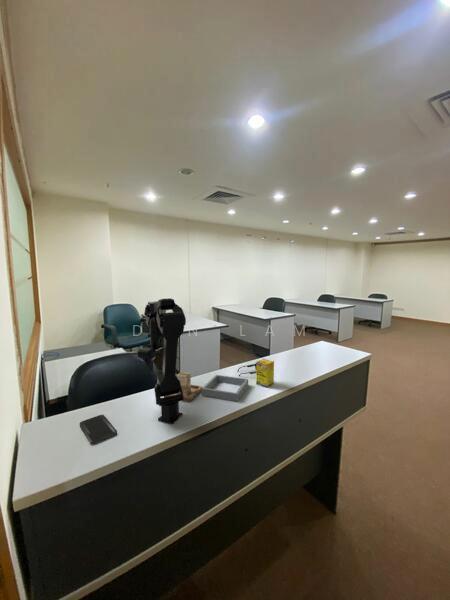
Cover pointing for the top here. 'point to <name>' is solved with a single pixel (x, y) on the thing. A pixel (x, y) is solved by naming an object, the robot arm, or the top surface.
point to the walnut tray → (191, 393)
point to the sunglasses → (248, 366)
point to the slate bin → (224, 394)
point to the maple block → (185, 382)
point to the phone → (97, 429)
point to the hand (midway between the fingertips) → (158, 367)
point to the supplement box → (265, 372)
